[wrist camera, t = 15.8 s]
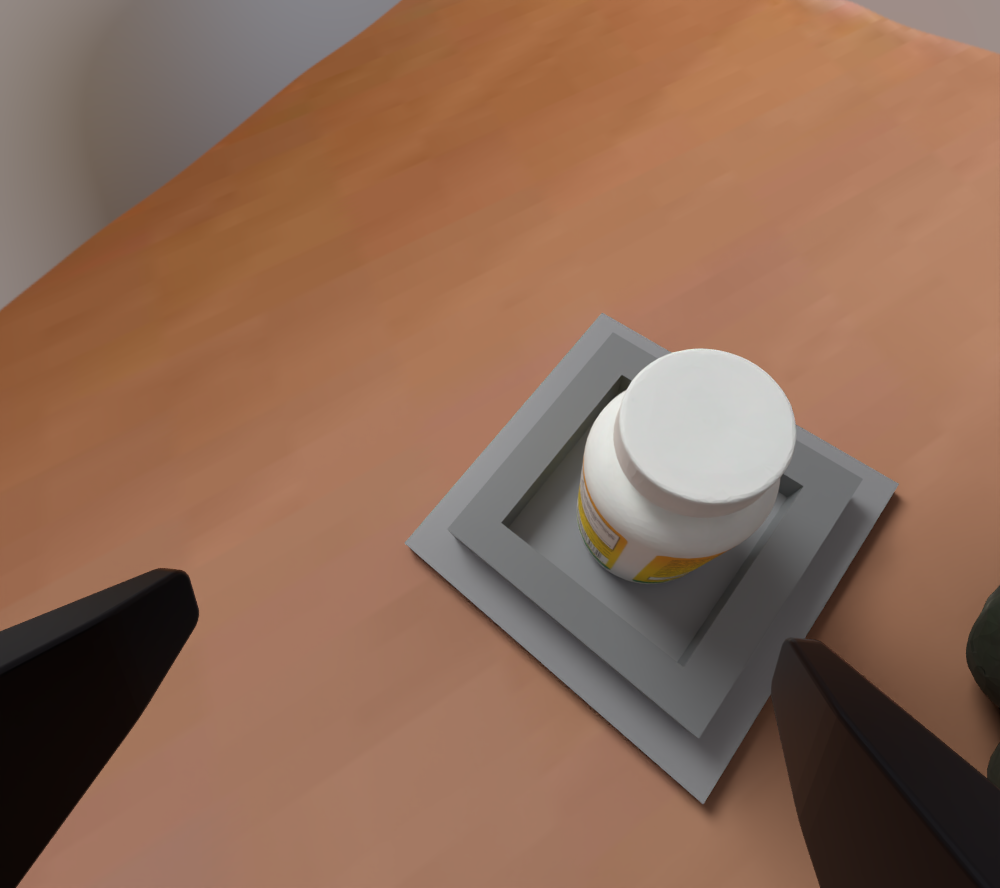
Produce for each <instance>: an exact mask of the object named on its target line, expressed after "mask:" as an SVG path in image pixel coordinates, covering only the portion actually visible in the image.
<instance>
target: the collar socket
mask: <svg viewBox="0 0 1000 888" xmlns="http://www.w3.org/2000/svg"><path fill="white" fill-rule="evenodd" d="M670 353H671V352H669V351H668V350H666V349H664V348H663V347H661V346H659V345H657V344H656V343H654V342H652V341H650V340H649V339H647V338H645V337H643V336H642V335H640V334H638V333H637V332H635V331H633V330H631V329H630V328H628V327H626V326H624V325H623V324H621V323H619V322H617V321H616V320H614V319H612V318H611V317H609V316H607V315H605V314H604V313H602V314H601V315H600V316H599V317H598V318H597V319H596V321H595V322H594V323H593V324H592V325H591V326H590V328H589V329H588V330H587V331H586V332H585V333H584V335H583V336H582V337H581V338H580V339H579V340H578V342H577V343H576V344H575V345H574V346H573V347H572V349H571V350H570V351H569V352H568V353H567V354H566V356H565V357H564V358H563V359H562V360H561V361H560V363H559V364H558V365H557V366H556V367H555V368H554V369H553V371H552V372H551V373H550V374H549V375H548V376H547V378H546V379H545V380H544V381H543V382H542V383H541V385H540V386H539V387H538V388H537V389H536V390H535V392H534V393H533V394H532V395H531V396H530V397H529V399H528V400H527V401H526V402H525V403H524V404H523V406H522V407H521V408H520V409H519V410H518V411H517V413H516V414H515V415H514V416H513V417H512V418H511V420H510V421H509V422H508V423H507V424H506V425H505V427H504V428H503V429H502V430H501V431H500V432H499V434H498V435H497V436H496V437H495V438H494V439H493V441H492V442H491V443H490V444H489V445H488V446H487V448H486V449H485V450H484V451H483V452H482V453H481V455H480V456H479V457H478V458H477V459H476V460H475V462H474V463H473V464H472V465H471V466H470V467H469V469H468V470H467V471H466V472H465V473H464V474H463V476H462V477H461V478H460V479H459V480H458V481H457V483H456V484H455V485H454V486H453V487H452V488H451V490H450V491H449V492H448V493H447V494H446V495H445V497H444V498H443V499H442V500H441V501H440V502H439V504H438V505H437V506H436V507H435V508H434V509H433V511H432V512H431V513H430V514H429V515H428V516H427V517H426V519H425V520H424V521H423V522H422V523H421V524H420V526H419V527H418V528H417V529H416V530H415V531H414V533H413V534H412V535H411V536H410V537H409V538H408V540H407V541H406V542H405V544H406V545H407V546H408V547H410V548H411V549H412V550H413V551H414V552H415V553H416V554H418V555H419V556H420V557H421V558H422V559H423V560H424V561H426V562H427V563H428V564H429V565H430V566H431V567H432V568H434V569H435V570H436V571H437V572H438V573H439V574H440V575H442V576H443V577H444V578H445V579H446V580H447V581H448V582H450V583H451V584H452V585H453V586H454V587H455V588H456V589H458V590H459V591H460V592H461V593H462V594H463V595H464V596H466V597H467V598H468V599H469V600H470V601H471V602H472V603H474V604H475V605H476V606H477V607H478V608H479V609H480V610H482V611H483V612H484V613H485V614H486V615H487V616H488V617H490V618H491V619H492V620H493V621H494V622H495V623H496V624H498V625H499V626H500V627H501V628H502V629H503V630H504V631H506V632H507V633H508V634H509V635H510V636H511V637H512V638H514V639H515V640H516V641H517V642H518V643H519V644H520V645H522V646H523V647H524V648H525V649H526V650H527V651H528V652H530V653H531V654H532V655H533V656H534V657H535V658H536V659H538V660H539V661H540V662H541V663H542V664H543V665H544V666H546V667H547V668H548V669H549V670H550V671H551V672H552V673H554V674H555V675H556V676H557V677H558V678H559V679H560V680H562V681H563V682H564V683H565V684H566V685H567V686H568V687H570V688H571V689H572V690H573V691H574V692H575V693H576V694H578V695H579V696H580V697H581V698H582V699H583V700H584V701H586V702H587V703H588V704H589V705H590V706H591V707H592V708H594V709H595V710H596V711H597V712H598V713H599V714H600V715H602V716H603V717H604V718H605V719H606V720H607V721H608V722H610V723H611V724H612V725H613V726H614V727H615V728H616V729H618V730H619V731H620V732H621V733H622V734H623V735H624V736H626V737H627V738H628V739H629V740H630V741H631V742H632V743H634V744H635V745H636V746H637V747H638V748H639V749H640V750H642V751H643V752H644V753H645V754H646V755H647V756H648V757H650V758H651V759H652V760H653V761H654V762H655V763H656V764H658V765H659V766H660V767H661V768H662V769H663V770H664V771H666V772H667V773H668V774H669V775H670V776H671V777H672V778H674V779H675V780H676V781H677V782H678V783H679V784H680V785H682V786H683V787H684V788H685V789H686V790H687V791H688V792H690V793H691V794H692V795H693V796H694V797H695V798H696V799H698V800H699V801H700V802H701V803H702V804H704V802H705V801H706V799H707V798H708V796H709V794H710V793H711V791H712V789H713V788H714V786H715V784H716V783H717V781H718V780H719V778H720V776H721V775H722V773H723V771H724V770H725V768H726V766H727V765H728V763H729V762H730V760H731V758H732V757H733V755H734V753H735V752H736V750H737V748H738V747H739V745H740V743H741V742H742V740H743V739H744V737H745V735H746V734H747V732H748V730H749V729H750V727H751V725H752V724H753V722H754V721H755V719H756V717H757V716H758V714H759V712H760V711H761V709H762V707H763V706H764V704H765V703H766V701H767V699H768V698H769V696H770V694H771V682H772V678H773V674H774V671H775V667H776V664H777V660H778V657H779V653H780V650H781V646H782V644H783V642H784V641H785V639H787V638H790V637H794V638H803V639H805V637H806V635H807V634H808V632H809V630H810V629H811V627H812V626H813V624H814V622H815V621H816V619H817V617H818V616H819V614H820V612H821V611H822V609H823V608H824V606H825V604H826V603H827V601H828V599H829V598H830V596H831V594H832V593H833V591H834V589H835V588H836V586H837V585H838V583H839V581H840V580H841V578H842V576H843V575H844V573H845V571H846V570H847V568H848V567H849V565H850V563H851V562H852V560H853V558H854V557H855V555H856V553H857V552H858V550H859V549H860V547H861V545H862V544H863V542H864V540H865V539H866V537H867V535H868V534H869V532H870V531H871V529H872V527H873V526H874V524H875V522H876V521H877V519H878V517H879V516H880V514H881V512H882V511H883V509H884V508H885V506H886V504H887V503H888V501H889V499H890V498H891V496H892V494H893V493H894V491H895V490H896V488H897V486H898V485H899V484H898V483H896V482H895V481H893V480H891V479H889V478H888V477H886V476H884V475H882V474H881V473H879V472H877V471H876V470H874V469H872V468H870V467H869V466H867V465H865V464H863V463H862V462H860V461H858V460H856V459H855V458H853V457H851V456H850V455H848V454H846V453H844V452H843V451H841V450H839V449H837V448H836V447H834V446H832V445H830V444H829V443H827V442H825V441H824V440H822V439H820V438H818V437H817V436H815V435H813V434H811V433H810V432H808V431H806V430H805V429H803V428H801V427H799V426H798V425H796V433H797V435H796V443H795V450H794V453H793V456H792V458H791V461H790V463H789V465H788V467H787V468H786V470H785V471H784V473H783V474H782V476H781V477H780V485H779V490H778V494H777V498H776V501H775V503H774V506H773V508H772V510H771V512H770V513H769V515H768V517H767V518H766V520H765V521H764V523H763V524H762V525H761V526H760V527H759V528H758V529H757V530H756V531H755V532H754V533H753V534H752V535H751V536H750V537H749V538H747V539H746V540H745V541H743V542H742V543H740V544H739V545H737V546H735V547H733V548H732V549H730V550H728V551H726V552H725V553H723V554H721V555H719V556H718V557H716V558H714V559H712V560H711V561H709V562H707V563H705V564H704V565H702V566H700V567H699V568H697V569H695V570H693V571H691V572H690V573H688V574H686V575H684V576H682V577H680V578H678V579H675V580H672V581H669V582H664V583H658V584H640V583H635V582H631V581H627V580H624V579H622V578H620V577H618V576H616V575H614V574H612V573H610V572H609V571H607V570H606V569H605V568H603V567H602V566H601V565H600V564H599V563H598V562H597V561H596V560H595V559H594V558H593V557H592V555H591V554H590V553H589V551H588V550H587V548H586V546H585V545H584V543H583V540H582V538H581V535H580V532H579V529H578V524H577V500H578V493H579V486H580V479H581V472H582V465H583V456H584V451H585V446H586V442H587V438H588V435H589V433H590V430H591V428H592V426H593V424H594V422H595V420H596V419H597V417H598V416H599V414H600V413H601V412H602V410H603V409H604V408H605V407H606V406H607V405H608V404H609V403H610V402H611V401H612V400H613V399H614V398H615V397H617V396H618V395H619V394H621V393H622V392H624V391H626V390H627V388H628V387H629V385H630V383H631V382H632V380H633V379H634V378H635V377H636V375H637V374H638V373H639V372H640V371H642V370H643V369H644V368H645V367H646V366H647V365H649V364H650V363H652V362H653V361H655V360H657V359H658V358H660V357H663V356H665V355H667V354H670Z"/></svg>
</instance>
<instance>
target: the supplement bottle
mask: <svg viewBox="0 0 1000 888" xmlns="http://www.w3.org/2000/svg"><path fill="white" fill-rule="evenodd" d="M796 435H797V433H796V424H795V418H794V414H793V410H792V407H791V405H790V402H789V400H788V399H787V397H786V395H785V394H784V392H783V390H782V389H781V388H780V386H779V385H778V384H777V383H776V382H775V381H774V380H773V378H772V377H771V376H770V375H769V374H767V373H766V372H765V371H764V370H762V369H761V368H760V367H758V366H757V365H755V364H753V363H752V362H750V361H748V360H746V359H744V358H742V357H740V356H737V355H734V354H731V353H728V352H723V351H720V350H713V349H689V350H683V351H678V352H673V353H670V354H667V355H665V356H663V357H660V358H658V359H657V360H655V361H653V362H652V363H650V364H649V365H647V366H646V367H645V368H644V369H643V370H642V371H640V372H639V373H638V374H637V375H636V377H635V378H634V379H633V380H632V382H631V383H630V385H629V387H628V388H627V390H626V391H624V392H622V393H621V394H619V395H618V396H617V397H615V398H614V399H613V400H612V401H611V402H610V403H609V404H608V405H607V406H606V407H605V408H604V409H603V410H602V412H601V413H600V414H599V416H598V417H597V419H596V420H595V422H594V424H593V426H592V428H591V430H590V433H589V435H588V438H587V442H586V446H585V451H584V456H583V465H582V472H581V479H580V486H579V493H578V500H577V524H578V529H579V532H580V535H581V538H582V540H583V543H584V545H585V546H586V548H587V550H588V551H589V553H590V554H591V555H592V557H593V558H594V559H595V560H596V561H597V562H598V563H599V564H600V565H601V566H602V567H603V568H605V569H606V570H607V571H609V572H610V573H612V574H614V575H616V576H618V577H620V578H622V579H624V580H627V581H631V582H635V583H640V584H658V583H664V582H669V581H672V580H675V579H678V578H680V577H682V576H684V575H686V574H688V573H690V572H691V571H693V570H695V569H697V568H699V567H700V566H702V565H704V564H705V563H707V562H709V561H711V560H712V559H714V558H716V557H718V556H719V555H721V554H723V553H725V552H726V551H728V550H730V549H732V548H733V547H735V546H737V545H739V544H740V543H742V542H743V541H745V540H746V539H747V538H749V537H750V536H751V535H752V534H753V533H754V532H755V531H756V530H757V529H758V528H759V527H760V526H761V525H762V524H763V523H764V521H765V520H766V518H767V517H768V515H769V513H770V512H771V510H772V508H773V506H774V503H775V501H776V498H777V494H778V490H779V485H780V477H781V476H782V474H783V473H784V471H785V470H786V468H787V467H788V465H789V463H790V461H791V458H792V456H793V453H794V450H795V443H796Z"/></svg>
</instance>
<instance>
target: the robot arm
mask: <svg viewBox="0 0 1000 888" xmlns="http://www.w3.org/2000/svg"><path fill="white" fill-rule="evenodd" d="M198 618H199V608H198V605H197V601H196V598H195V595H194V591H193V588H192V584H191V581H190V578H189V576H188V574H187V573H186V572H184V571H182V570H177V569H168V568H158V569H155V570H152V571H149V572H147V573H144V574H142V575H139V576H137V577H135V578H132V579H130V580H127V581H125V582H122V583H120V584H117V585H115V586H112V587H110V588H107V589H105V590H102V591H100V592H97V593H95V594H92V595H90V596H87V597H85V598H82V599H80V600H77V601H75V602H72V603H70V604H67V605H65V606H62V607H60V608H57V609H55V610H52V611H50V612H47V613H45V614H42V615H40V616H37V617H35V618H32V619H30V620H28V621H25V622H23V623H20V624H18V625H15V626H13V627H10V628H8V629H5V630H3V631H0V888H16V887H17V886H18V884H19V883H20V882H21V880H22V879H23V877H24V876H25V875H26V873H27V872H28V871H29V869H30V868H31V867H32V865H33V864H34V862H35V861H36V860H37V858H38V857H39V856H40V854H41V853H42V851H43V850H44V849H45V847H46V846H47V845H48V843H49V842H50V840H51V839H52V838H53V836H54V835H55V834H56V832H57V831H58V829H59V828H60V827H61V825H62V824H63V823H64V821H65V820H66V818H67V817H68V816H69V814H70V813H71V812H72V810H73V809H74V807H75V806H76V805H77V803H78V802H79V801H80V799H81V798H82V797H83V795H84V794H85V792H86V791H87V790H88V788H89V787H90V786H91V784H92V783H93V781H94V780H95V779H96V777H97V776H98V775H99V773H100V772H101V770H102V769H103V768H104V766H105V765H106V764H107V762H108V761H109V759H110V758H111V757H112V755H113V754H114V753H115V751H116V750H117V748H118V747H119V746H120V744H121V743H122V742H123V740H124V739H125V738H126V736H127V735H128V733H129V732H130V731H131V729H132V728H133V726H134V725H135V723H136V722H137V721H138V719H139V718H140V716H141V715H142V713H143V712H144V710H145V708H146V707H147V705H148V704H149V702H150V701H151V699H152V697H153V696H154V694H155V692H156V691H157V689H158V687H159V686H160V684H161V682H162V681H163V679H164V678H165V676H166V674H167V673H168V671H169V669H170V668H171V666H172V664H173V663H174V661H175V659H176V658H177V656H178V655H179V653H180V651H181V650H182V648H183V646H184V645H185V643H186V641H187V640H188V638H189V636H190V635H191V633H192V632H193V630H194V628H195V626H196V624H197V621H198ZM771 696H772V702H773V707H774V711H775V716H776V720H777V725H778V730H779V734H780V739H781V743H782V748H783V752H784V757H785V762H786V766H787V771H788V775H789V780H790V785H791V789H792V794H793V798H794V802H795V807H796V811H797V815H798V819H799V822H800V826H801V829H802V832H803V836H804V839H805V842H806V845H807V849H808V852H809V855H810V858H811V861H812V864H813V867H814V870H815V873H816V876H817V879H818V882H819V885H820V888H1000V789H999V788H998V787H997V786H996V785H994V784H993V783H992V782H991V781H990V780H988V779H987V778H986V777H985V776H984V775H982V774H981V773H980V772H979V771H977V770H976V769H975V768H974V767H973V766H971V765H970V764H969V763H968V762H967V761H965V760H964V759H963V758H962V757H961V756H959V755H958V754H957V753H956V752H954V751H953V750H952V749H951V748H950V747H948V746H947V745H946V744H945V743H944V742H942V741H941V740H940V739H939V738H937V737H936V736H935V735H934V734H933V733H931V732H930V731H929V730H928V729H927V728H925V727H924V726H923V725H922V724H921V723H919V722H918V721H917V720H916V719H914V718H913V717H912V716H911V715H910V714H908V713H907V712H906V711H905V710H904V709H902V708H901V707H900V706H899V705H897V704H896V703H895V702H894V701H893V700H891V699H890V698H889V697H888V696H887V695H885V694H884V693H883V692H882V691H881V690H879V689H878V688H877V687H876V686H874V685H873V684H872V683H871V682H870V681H868V680H867V679H866V678H865V677H864V676H862V675H861V674H860V673H859V672H857V671H856V670H855V669H854V668H853V667H851V666H850V665H849V664H848V663H847V662H845V661H844V660H843V659H842V658H841V657H839V656H838V655H837V654H836V653H834V652H833V651H832V650H831V649H830V648H828V647H827V646H826V645H825V644H823V643H822V642H820V641H817V640H812V639H803V638H794V637H790V638H787V639H785V641H784V642H783V644H782V646H781V650H780V653H779V657H778V660H777V664H776V667H775V671H774V674H773V678H772V682H771Z"/></svg>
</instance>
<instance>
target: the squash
mask: <svg viewBox="0 0 1000 888" xmlns="http://www.w3.org/2000/svg"><path fill="white" fill-rule="evenodd" d="M966 658H967V664H968V667H969V669H970V671H971V673H972V675H973V677H974V679H975V681H976V683H977V684H978V686H979V687H980V689H981V690H982V691H983V692H984V693H985V695H986V696H987V697H988V698H989V699H990V700H991V701H992V702H993V703H994V704H995V705H996V706H997V707H999V708H1000V586H999V587H998V588H997V589H996V590H995V591H994V592H993V593H992V594H991V595H990V596H989V597H988V599H987V601H986V603H985V605H984V608H983V610H982V612H981V614H980V615H979V617H978V618H977V620H976V622H975V623H974V625H973V627H972V629H971V632H970V634H969V638H968V642H967V647H966ZM987 779H988V780H990V781H991V782H992V783H993V784H994V785H996V786H997V787H998V788H999V789H1000V743H999V744H998V746H997V748H996V749H995V751H994V752H993V754H992V756H991V758H990V761H989V765H988V768H987Z"/></svg>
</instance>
